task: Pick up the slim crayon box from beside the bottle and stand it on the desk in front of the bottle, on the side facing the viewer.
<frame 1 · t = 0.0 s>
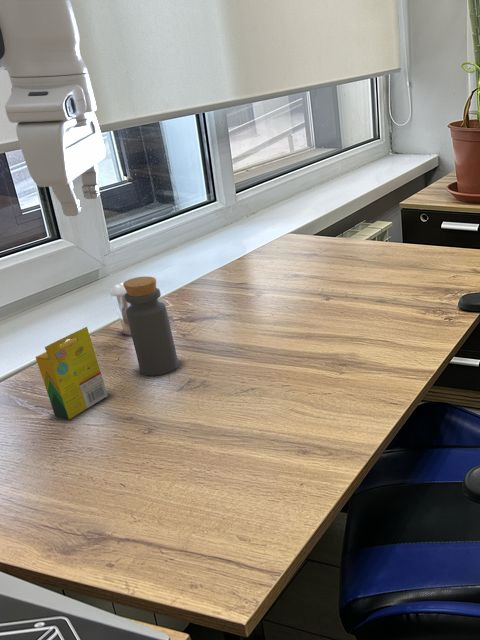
hand: (83, 205, 96), 29 cm above the table, tool pointing down, fingers open, 8 cm apart
crayon box: (82, 407, 104), on the table
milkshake: (135, 332, 129), on the table
bottle: (160, 368, 115), on the table
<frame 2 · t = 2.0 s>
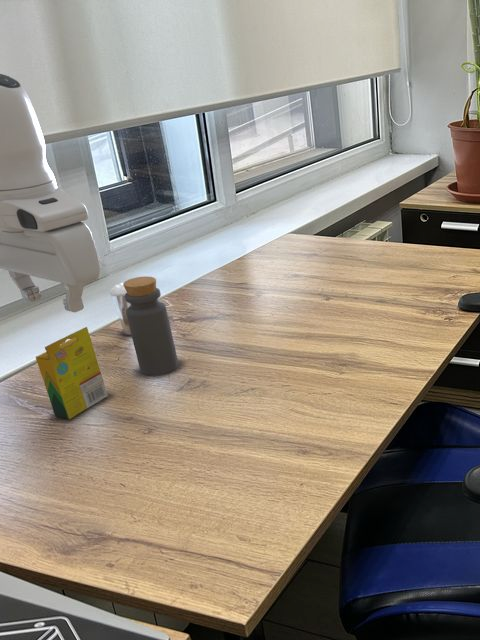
hand: (53, 304, 97), 16 cm above the table, tool pointing down, fingers open, 8 cm apart
nothing on the table moved.
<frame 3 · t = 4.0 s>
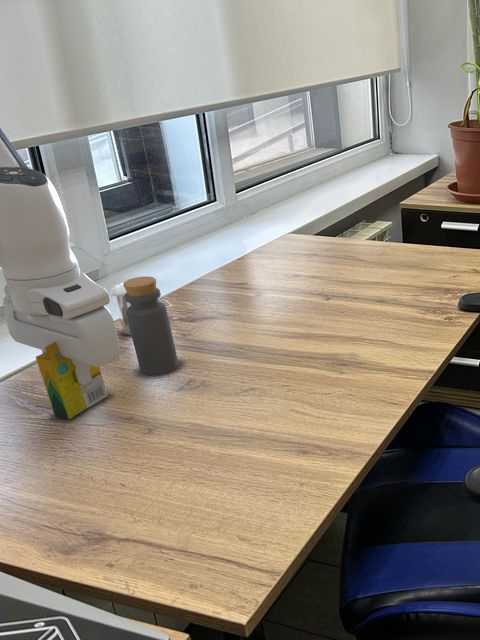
hand: (74, 379, 102), 5 cm above the table, tool pointing down, fingers closed on crayon box, 3 cm apart
crayon box: (82, 407, 104), on the table, touching gripper
everything else where it was.
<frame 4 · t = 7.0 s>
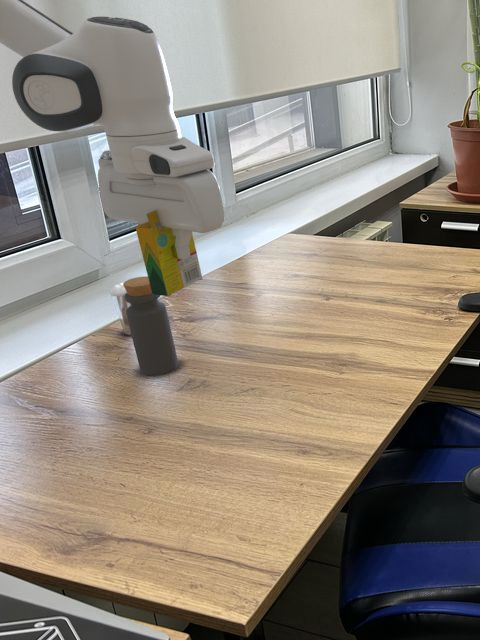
hand: (171, 255, 98), 22 cm above the table, tool pointing down, fingers closed on crayon box, 3 cm apart
crayon box: (178, 288, 100), point 17 cm above the table, touching gripper
everything else where it was.
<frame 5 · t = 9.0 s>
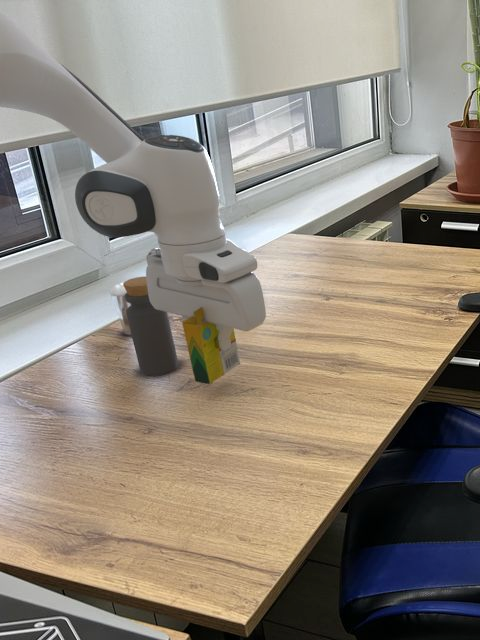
hand: (212, 345, 105), 8 cm above the table, tool pointing down, fingers closed on crayon box, 3 cm apart
crayon box: (218, 373, 107), point 3 cm above the table, touching gripper
everything else where it was.
when the fingers open (5 cm above the table, at t = 10.2 s): crayon box stays where it is, on the table.
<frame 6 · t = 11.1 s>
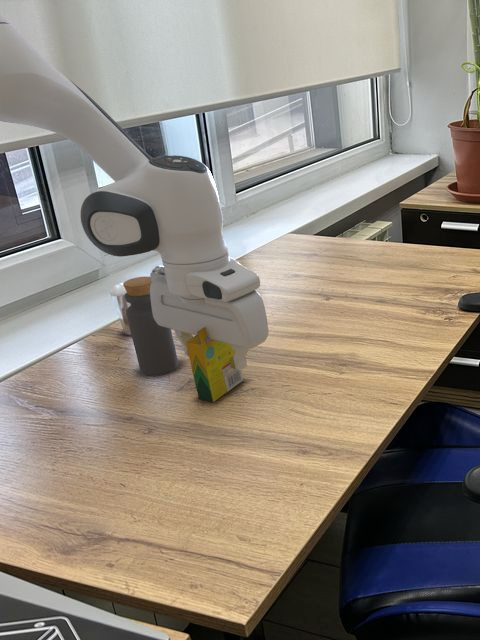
hand: (216, 361, 106), 5 cm above the table, tool pointing down, fingers open, 8 cm apart
crayon box: (221, 391, 108), on the table
everything else where it was.
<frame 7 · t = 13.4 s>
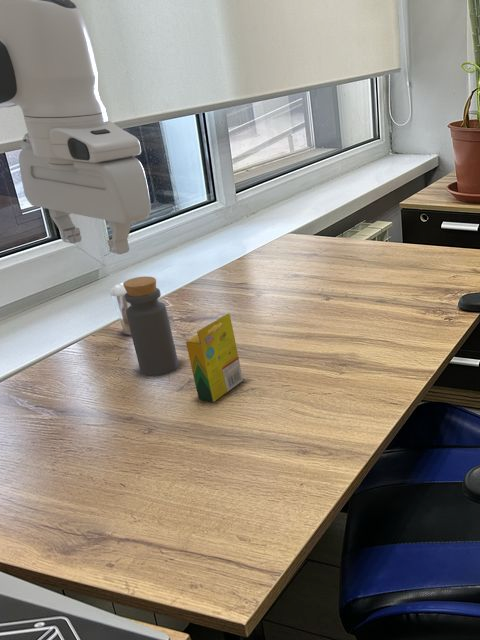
hand: (95, 247, 92), 25 cm above the table, tool pointing down, fingers open, 8 cm apart
nothing on the table moved.
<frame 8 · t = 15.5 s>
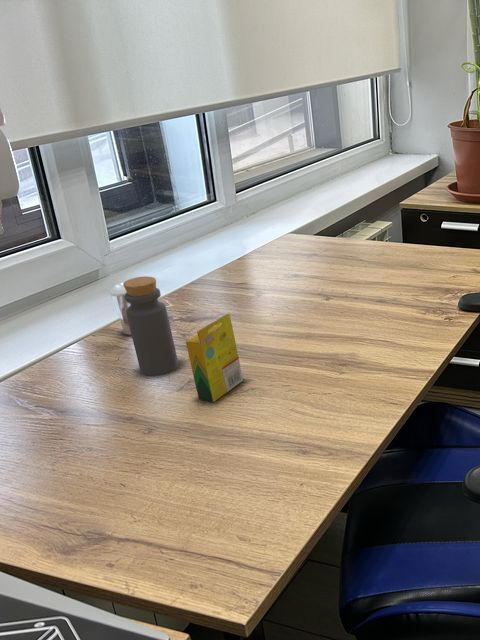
nothing on the table moved.
at the end: crayon box inside the target area (0.1 cm from its centre), on the table; crayon box tilted 0°; bottle moved 0.2 cm from its start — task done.
